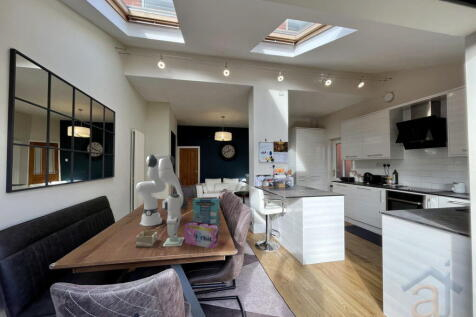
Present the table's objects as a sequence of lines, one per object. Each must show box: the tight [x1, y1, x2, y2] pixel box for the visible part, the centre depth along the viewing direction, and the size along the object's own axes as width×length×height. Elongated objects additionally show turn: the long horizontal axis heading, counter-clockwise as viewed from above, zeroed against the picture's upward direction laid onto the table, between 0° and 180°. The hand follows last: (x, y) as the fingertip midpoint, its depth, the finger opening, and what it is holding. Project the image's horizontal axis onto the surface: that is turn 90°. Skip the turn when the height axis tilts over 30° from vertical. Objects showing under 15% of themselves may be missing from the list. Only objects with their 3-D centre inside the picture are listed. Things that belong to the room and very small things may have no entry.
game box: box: [192, 197, 220, 234], centre depth 157 cm, size 20×6×27 cm, turn 84°
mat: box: [162, 236, 185, 247], centre depth 136 cm, size 14×12×1 cm
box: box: [135, 229, 159, 248], centre depth 134 cm, size 12×10×7 cm
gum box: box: [184, 220, 219, 249], centre depth 134 cm, size 24×8×14 cm, turn 67°
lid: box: [164, 235, 183, 245], centre depth 136 cm, size 10×9×4 cm
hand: (173, 237), depth 136 cm, fingers open, 8 cm apart
